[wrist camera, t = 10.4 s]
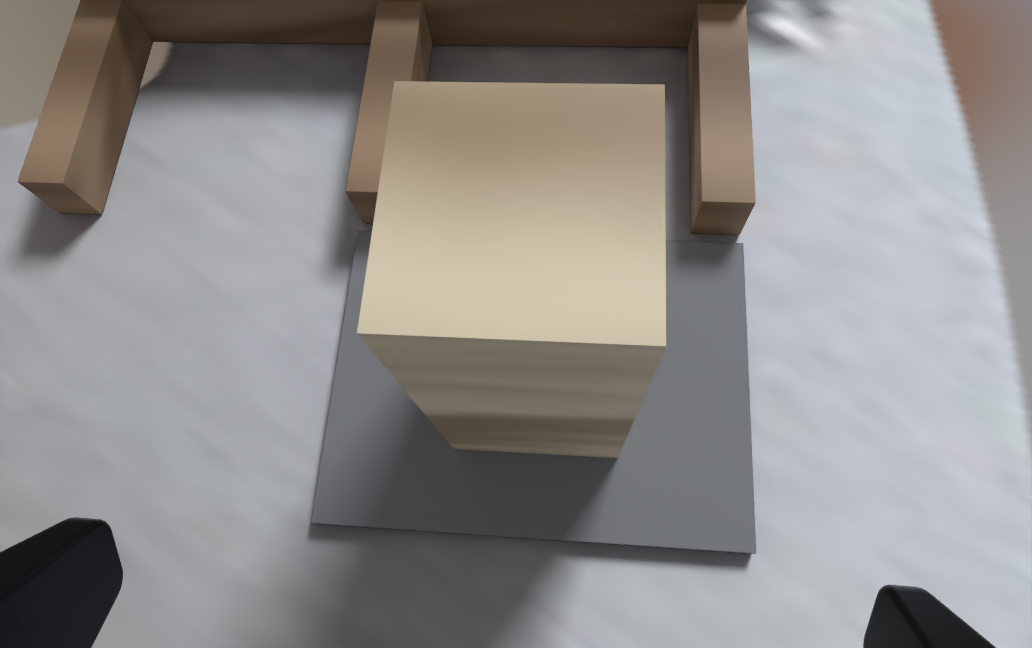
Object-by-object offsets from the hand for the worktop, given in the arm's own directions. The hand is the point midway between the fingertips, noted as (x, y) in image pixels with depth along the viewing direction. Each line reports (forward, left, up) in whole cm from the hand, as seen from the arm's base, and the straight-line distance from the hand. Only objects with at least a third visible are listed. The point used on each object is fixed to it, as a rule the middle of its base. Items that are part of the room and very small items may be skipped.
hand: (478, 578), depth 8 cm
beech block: (+5, +3, -11) cm, 13 cm away
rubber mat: (+5, +3, -12) cm, 13 cm away
